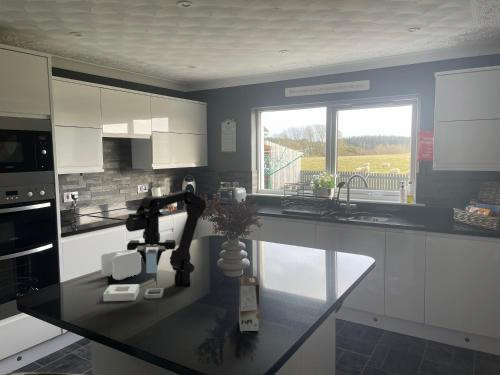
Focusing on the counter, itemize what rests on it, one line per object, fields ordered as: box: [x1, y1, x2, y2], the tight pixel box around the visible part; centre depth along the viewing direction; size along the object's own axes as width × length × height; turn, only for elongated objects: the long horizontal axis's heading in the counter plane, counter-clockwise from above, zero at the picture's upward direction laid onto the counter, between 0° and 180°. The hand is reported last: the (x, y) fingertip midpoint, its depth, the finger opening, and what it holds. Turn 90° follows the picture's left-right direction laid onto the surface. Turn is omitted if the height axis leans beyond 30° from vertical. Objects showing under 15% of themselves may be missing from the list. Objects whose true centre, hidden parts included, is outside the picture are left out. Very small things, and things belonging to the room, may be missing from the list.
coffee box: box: [238, 275, 260, 333], centre depth 131 cm, size 9×6×16 cm
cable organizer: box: [100, 247, 142, 281], centre depth 182 cm, size 15×11×12 cm
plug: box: [145, 248, 159, 274], centre depth 157 cm, size 4×4×9 cm
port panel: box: [102, 283, 140, 302], centre depth 157 cm, size 12×10×3 cm
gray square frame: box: [144, 287, 165, 299], centre depth 159 cm, size 7×7×2 cm
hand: (152, 265), depth 157 cm, fingers closed on plug, 4 cm apart
